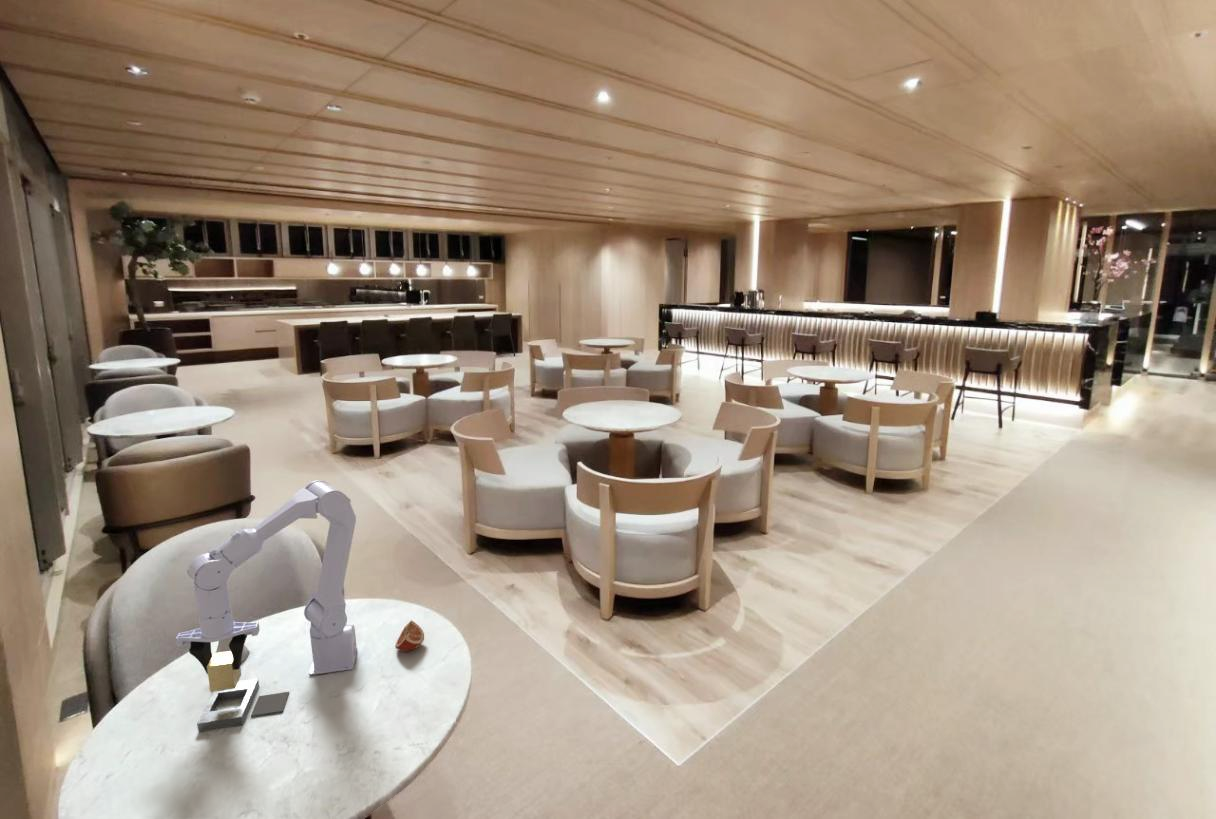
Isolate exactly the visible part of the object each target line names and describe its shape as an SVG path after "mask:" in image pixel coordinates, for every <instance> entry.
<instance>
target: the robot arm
mask: <svg viewBox="0 0 1216 819" xmlns="http://www.w3.org/2000/svg"><path fill="white" fill-rule="evenodd" d="M317 514H319V515H320V516H322V517H323V518H325V520H327V522H329V527H328V532H327V536H326V542H325V548H324V552H323V558H322V564H321V569H320V572H319V573H320V575H319V578H318V579H319V580H318V583H317V588H316V589H315V590H313V591H312V592H311V595H310V599H309V601H308V602H307V604H306V605H305V607H304V609H303V610H304V611H303V615H304V617H305V620H307V621H308V622H310V628H309V637H310V645H311V654H312V662H311V665H310V669H309V672H308V674H309V676H313V675H314V676H315V675H320V674H327V673H335V672H343V671H348V670H349V671H350V670H353V669H354V666H355V661H356V659H357V658H356V657H357V653H358V647H357V637H356V628H355V625H354V624H347V621H348V617H347V613H346V607H347V605H346V600H345V596H344V594H343V590H344V585H345V584H344V583H345V579H346V574H347V568H348V563H349V558H350V552H351V547H352V544H353V543H352V542H353V538H354V531H355V527H356V522H357V517H356V513H355V512H354V508H353V506H352V504H351V498H350V497H349V496H347V495H346V494H345V493H344V492H342V491H340V490H339V489H336V488H335V487H334V486H331V485H330V484H329V483H328V482H326V481H324V480H322V479H318V480H313V481H311V482H309V483H308V484H306V486H305V487H302V488H301V489H298V490H297V491H296V493H295V494H294V495H293V497H292V498H290V499H288V501H287V502H285V503H284V504H283V505H282V506H280V507H279V508H277V509H276V510H275V511H274V512H272V513H271V514H270V515H269V516H268V517H267V516H266V518H265V519H264V520H262V521H261V522H260V523H258V524H256V525H255V527H254V528H242V529H241V530H239V531H238V530H235V531H233V532H232V533H231V534H230V537H229V538H227V539H226V540H225V541H224V542H222V543H220V544H219V545H218V546H216V547H215V548H211V549H209V550H208V552H205V553H201V554H199V555H197V556H196V557H194V558H193V559H192V560H191V561H190V562H191V563H190V564H189V565H188V569H187V570H186V572H187V575H188V576H189V577H190V579H192V580H193V586H194V587H193V590H194V599H195V605H196V606H195V607H196V610H197V617H198V621H199V628H198V627H197V628H195V629H191V630H187V631H182V632H179V633H178V634H177V636H176V637H175V641H176V642H175V643H176V647H182V646H185V644H190V648H189V649H188V652H189V654H190V655H191V656H192V657H194V658H195V659H196V660H197V661H198V662H199V663H200V664H201V666H202V667H203V669H204V671H205V673H206V675H208V672H207V665H208V663H209V662H210V660H211V658H212V656H213V654H212V643H216V642H219V641H220V640H224V639H227V638H230V637H232V640H231V642H230V644H229V648H230V650H231V653H232V656H233V662H234V668H235V670H238V669H239V668H240V669H241V666H242V662H241V658H242V651H243V647H244V645H245V643H246V640H247V637H248V636H252V637H255V636H258V635H259V633H260V623H259V621H258V622H257V621H255V622H243V621H242V622H240V621H238V622H237V621H235V620H234V621H233V619H234V614H233V609H232V604H231V603H232V602H231V597H230V591H229V587H228V584H227V582H228V581H229V578H230V575H231V573H232V572H234V571H235V570H236V569H237V568H239V567H240V566H241V565H243V563H245V562H247V561H248V560H250V558H253V557H254V556H255V555H256V554H258V553H259V552H260V551H261V550H263V546H264V543H265V541H266V540H268V539H269V538H272V537H273V536H274V535H276V534H277V533H279V532H280V531H282V530H284V529H285V528H286V527H288V526H290V525H291V524H293V523H295V522H296V521H298V520H299V519H310V520H311V519H313V520H314V519H318V515H317Z"/></svg>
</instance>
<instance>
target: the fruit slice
mask: <svg viewBox="0 0 1216 819" xmlns="http://www.w3.org/2000/svg"><path fill="white" fill-rule="evenodd" d="M424 641H425V632H424V631H423V629H422V628H421V626H419V624H417V622H415V621H413V620H412V619H411V620H410V621H409V622H408V623H407V624H406V625H405V626H404V628H403V629H402V631H401V633H400V635H399V637H398V639H397V640H396V642H395V648H396V649H397V650H399V651H401V652H409V651H410V652H411V651H412V650H414V649H416V648H418V647H419V646H421V644H422V643H423V642H424Z"/></svg>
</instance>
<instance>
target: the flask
mask: <svg viewBox="0 0 1216 819" xmlns="http://www.w3.org/2000/svg"><path fill="white" fill-rule="evenodd" d="M233 621H234V622H235V619H234V618H233ZM231 640H232V637H230V638H227V639H224V640H220V641H218V644H217V648H216V652H215V653H220V652H227V651H231V650H230V648H229V644H230V642H231ZM249 654H250V650H249V649H248V647H247V646H246V644H244V647H243V651H242V658H241V663H242V662H243V661H245V660H247V658H248V655H249Z"/></svg>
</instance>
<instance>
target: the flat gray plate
mask: <svg viewBox="0 0 1216 819" xmlns="http://www.w3.org/2000/svg"><path fill="white" fill-rule="evenodd" d="M289 696H290V691H285V692H277V693H271V694H265V695H258V698H257V700H256V702H255V705H254V707H253V709H252V712H251V714H250V718H256V717H262V716H268V715H274V714H282V713H284V711H285V710H284V709H285V706H286V704H287V701H288V699H289Z"/></svg>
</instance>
